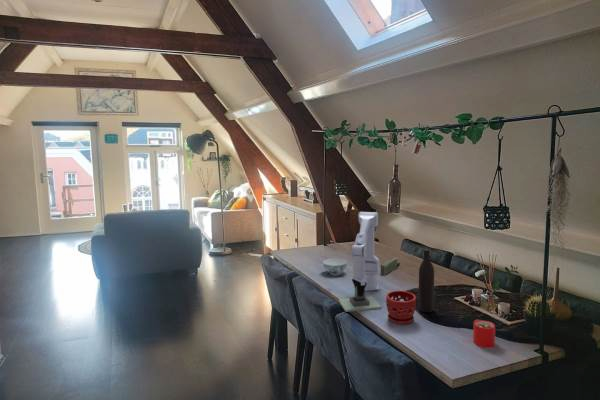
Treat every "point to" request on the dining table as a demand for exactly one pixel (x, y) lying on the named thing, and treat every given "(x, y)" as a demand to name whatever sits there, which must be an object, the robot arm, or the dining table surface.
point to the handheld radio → (389, 266)
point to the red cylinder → (484, 333)
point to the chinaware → (335, 266)
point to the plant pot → (401, 307)
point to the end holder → (359, 304)
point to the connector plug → (357, 294)
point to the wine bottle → (426, 284)
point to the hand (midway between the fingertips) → (359, 294)
